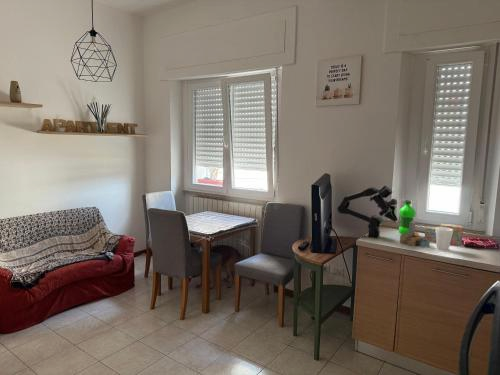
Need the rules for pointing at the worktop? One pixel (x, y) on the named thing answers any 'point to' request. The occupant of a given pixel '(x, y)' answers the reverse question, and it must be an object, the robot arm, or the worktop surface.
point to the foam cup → (443, 238)
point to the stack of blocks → (457, 229)
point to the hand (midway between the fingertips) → (396, 220)
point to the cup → (424, 243)
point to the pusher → (411, 228)
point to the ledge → (410, 239)
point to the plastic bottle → (406, 217)
